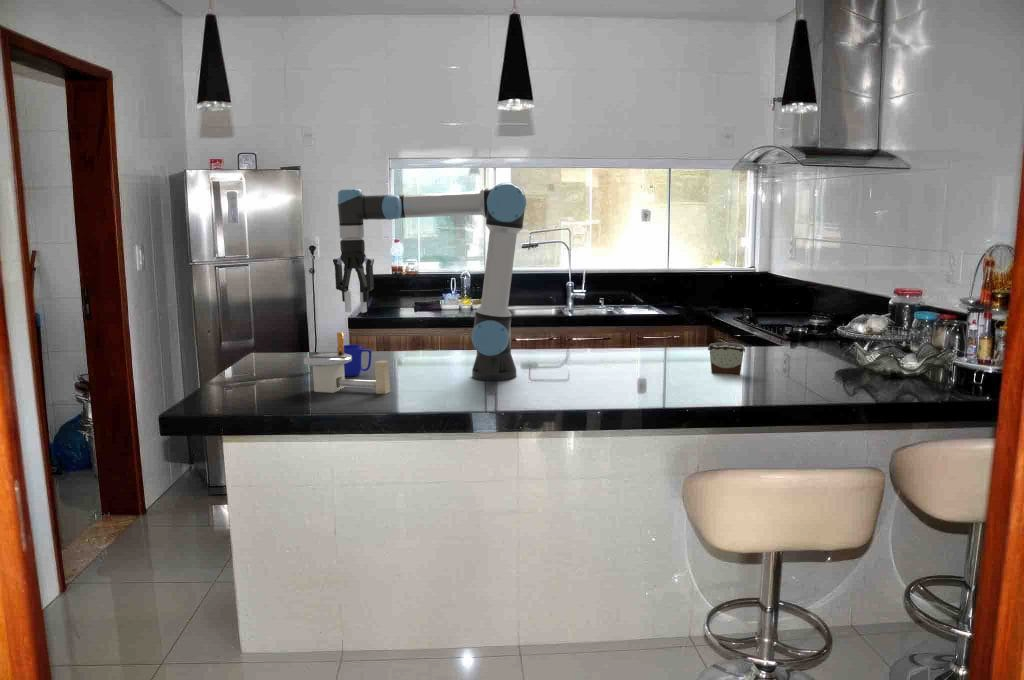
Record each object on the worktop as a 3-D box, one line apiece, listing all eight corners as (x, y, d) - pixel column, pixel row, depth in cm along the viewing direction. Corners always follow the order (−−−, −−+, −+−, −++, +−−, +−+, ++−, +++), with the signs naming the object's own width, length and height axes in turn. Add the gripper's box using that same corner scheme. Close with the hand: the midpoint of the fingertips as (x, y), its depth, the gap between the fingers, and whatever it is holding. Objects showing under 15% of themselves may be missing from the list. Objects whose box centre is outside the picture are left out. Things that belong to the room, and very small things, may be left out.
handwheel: (360, 357, 256) (359, 332, 254) (337, 367, 242) (335, 341, 240) (320, 355, 260) (318, 331, 259) (294, 365, 246) (293, 339, 245)
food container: (747, 372, 266) (748, 343, 264) (744, 376, 260) (745, 346, 258) (710, 369, 271) (711, 341, 269) (707, 373, 265) (707, 344, 263)
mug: (367, 378, 268) (366, 349, 266) (334, 377, 270) (333, 348, 269) (376, 373, 276) (375, 345, 274) (344, 372, 278) (342, 344, 276)
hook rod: (390, 391, 248) (388, 360, 246) (385, 394, 245) (383, 362, 243) (320, 387, 256) (318, 357, 254) (314, 389, 253) (312, 359, 251)
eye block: (345, 387, 255) (343, 360, 254) (333, 392, 248) (332, 365, 247) (326, 386, 257) (324, 359, 256) (314, 391, 250) (312, 364, 249)
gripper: (383, 238, 248) (386, 311, 252) (333, 238, 253) (337, 309, 257) (372, 239, 241) (376, 314, 245) (320, 239, 246) (325, 313, 250)
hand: (356, 311), depth 251 cm, fingers open, 5 cm apart
